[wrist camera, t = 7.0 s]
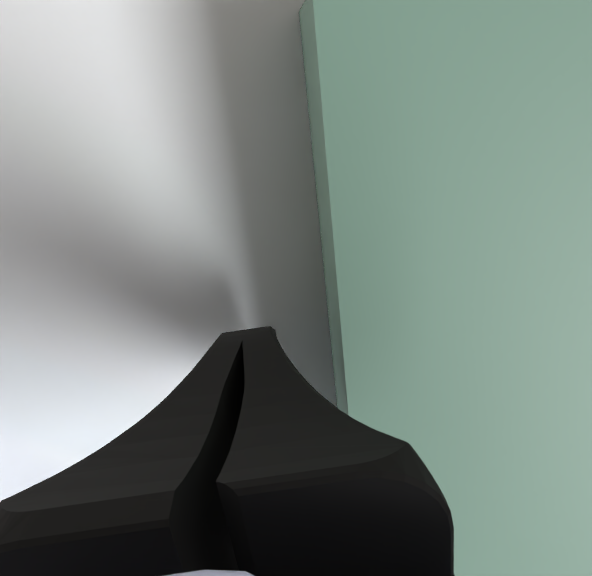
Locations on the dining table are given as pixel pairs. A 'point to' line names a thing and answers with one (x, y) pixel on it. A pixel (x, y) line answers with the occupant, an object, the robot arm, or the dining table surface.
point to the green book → (464, 255)
